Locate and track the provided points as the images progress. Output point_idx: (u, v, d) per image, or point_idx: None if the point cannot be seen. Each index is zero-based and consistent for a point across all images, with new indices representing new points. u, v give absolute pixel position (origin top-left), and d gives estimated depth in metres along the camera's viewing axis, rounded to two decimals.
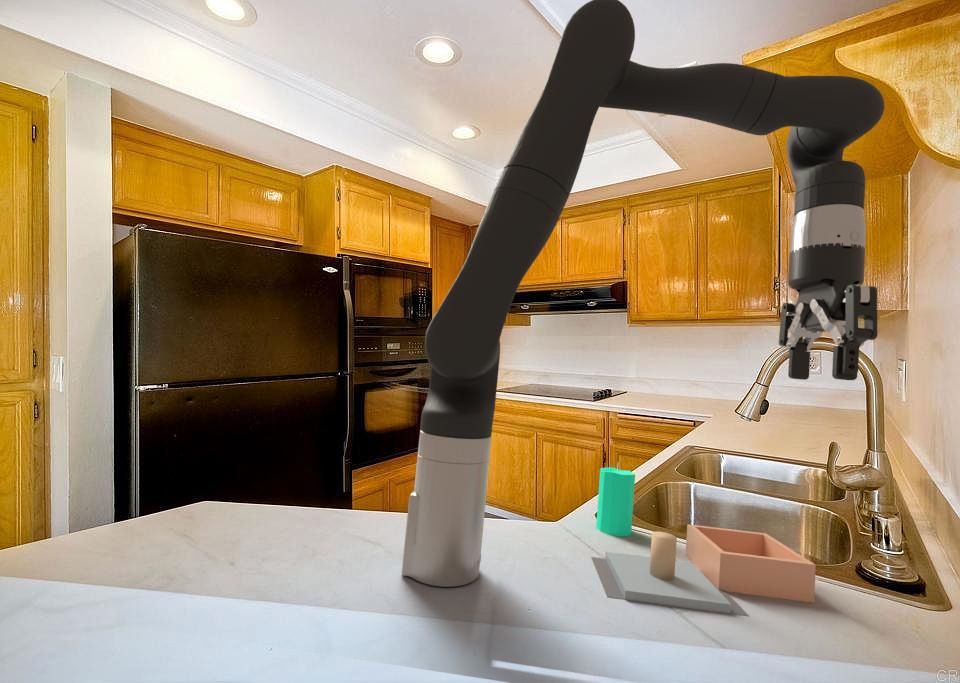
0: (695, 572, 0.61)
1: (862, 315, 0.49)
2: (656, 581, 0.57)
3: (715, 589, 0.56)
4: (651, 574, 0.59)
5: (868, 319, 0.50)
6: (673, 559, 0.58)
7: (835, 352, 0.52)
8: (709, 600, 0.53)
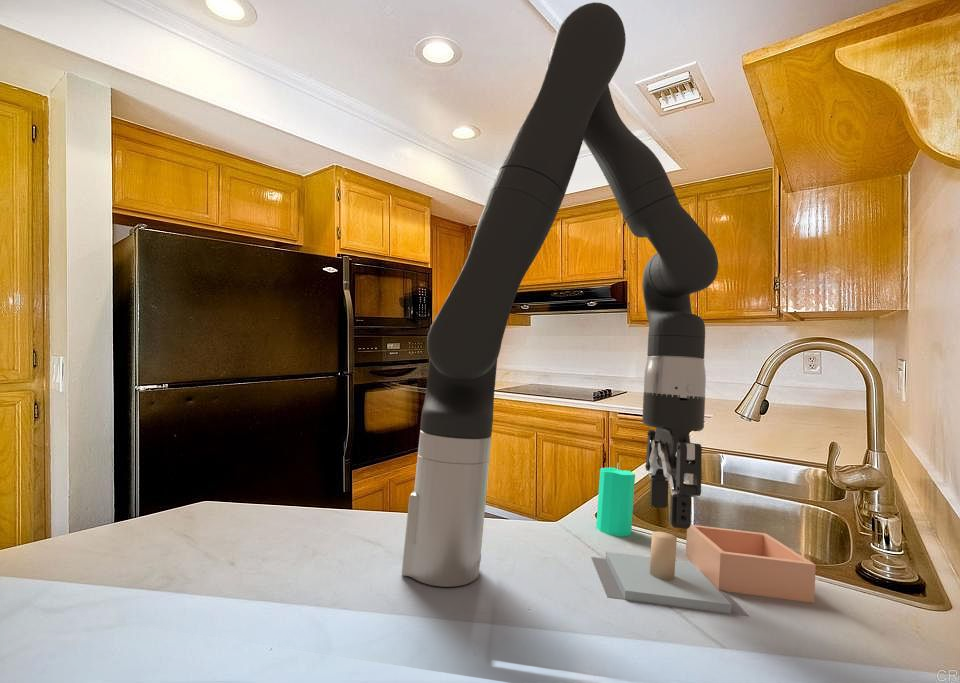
0: (695, 572, 0.61)
1: None
2: (656, 581, 0.57)
3: (715, 589, 0.56)
4: (651, 574, 0.59)
5: (695, 476, 0.53)
6: (673, 559, 0.58)
7: (671, 501, 0.55)
8: (709, 600, 0.53)
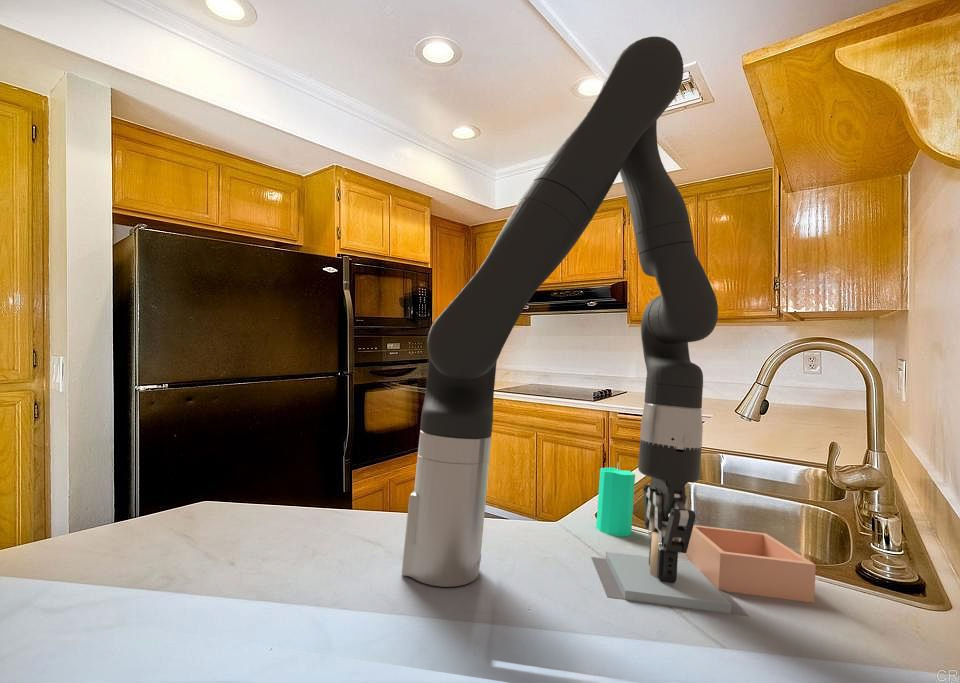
0: (695, 572, 0.61)
1: None
2: (656, 581, 0.57)
3: (715, 589, 0.56)
4: (651, 574, 0.59)
5: None
6: None
7: (658, 555, 0.57)
8: (709, 600, 0.53)
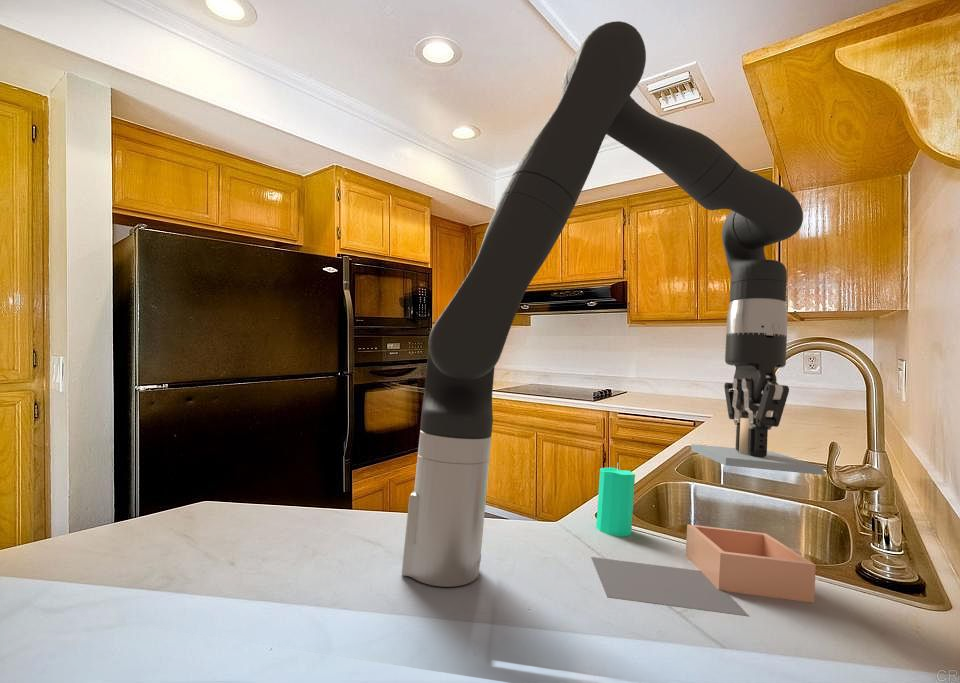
0: (779, 455, 0.67)
1: None
2: (748, 456, 0.63)
3: (803, 461, 0.62)
4: (741, 453, 0.64)
5: (776, 411, 0.60)
6: None
7: (749, 434, 0.63)
8: (802, 464, 0.59)
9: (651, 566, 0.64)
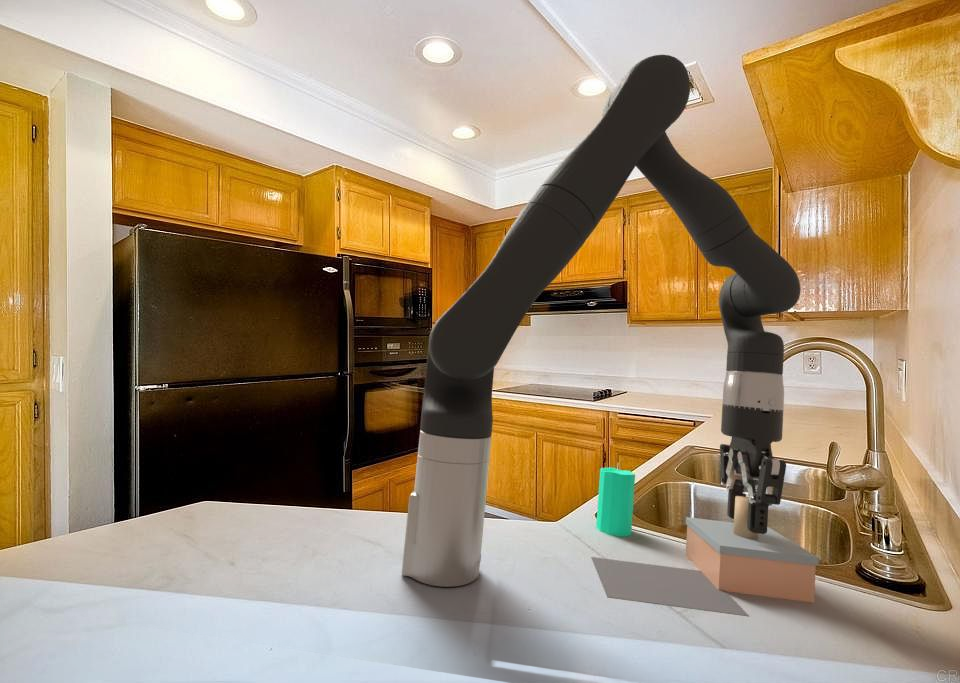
0: (774, 533, 0.66)
1: None
2: (743, 539, 0.62)
3: (798, 546, 0.61)
4: (736, 534, 0.64)
5: (775, 487, 0.59)
6: None
7: (749, 509, 0.61)
8: (797, 554, 0.58)
9: (651, 566, 0.64)
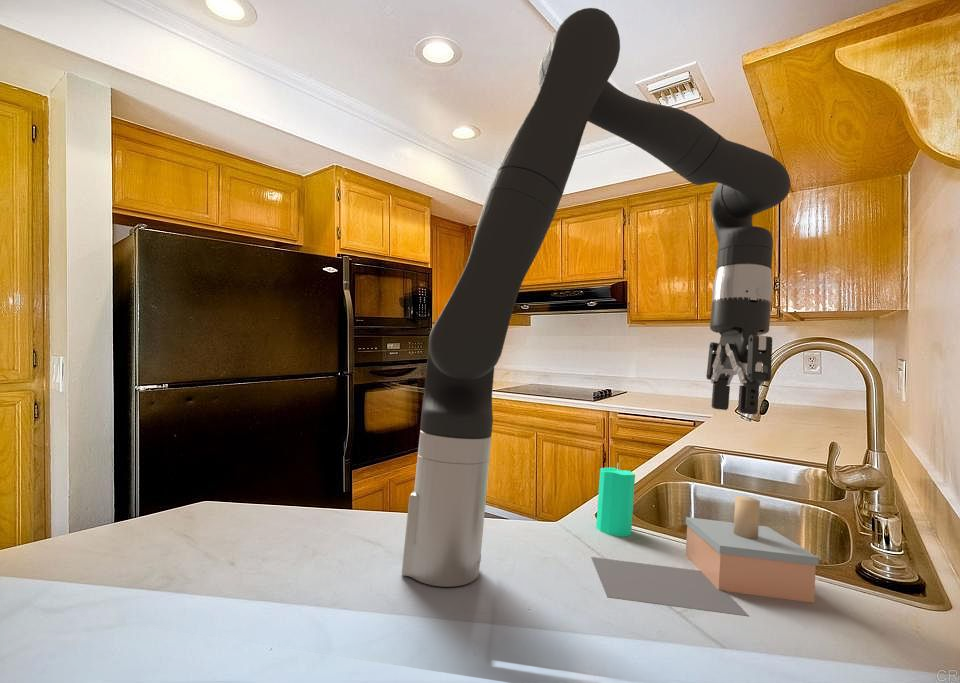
0: (774, 533, 0.66)
1: (759, 361, 0.59)
2: (743, 539, 0.62)
3: (798, 546, 0.61)
4: (736, 534, 0.64)
5: (765, 364, 0.59)
6: (757, 520, 0.63)
7: (740, 390, 0.61)
8: (797, 554, 0.58)
9: (651, 566, 0.64)
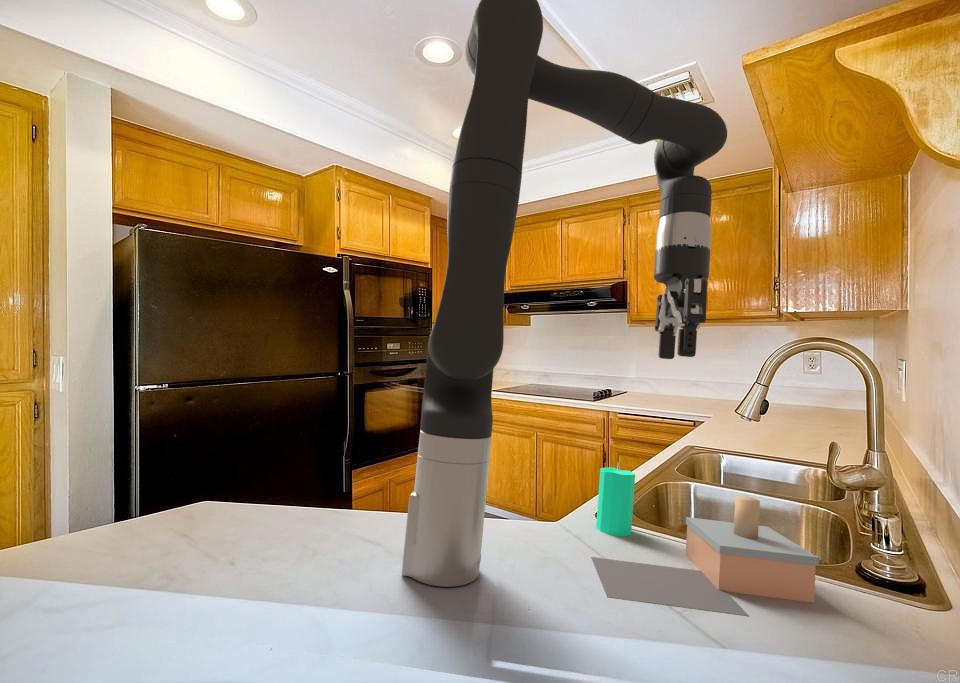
0: (774, 533, 0.66)
1: (695, 303, 0.60)
2: (743, 539, 0.62)
3: (798, 546, 0.61)
4: (736, 534, 0.64)
5: (700, 306, 0.61)
6: (757, 520, 0.63)
7: (679, 334, 0.63)
8: (797, 554, 0.58)
9: (651, 566, 0.64)
